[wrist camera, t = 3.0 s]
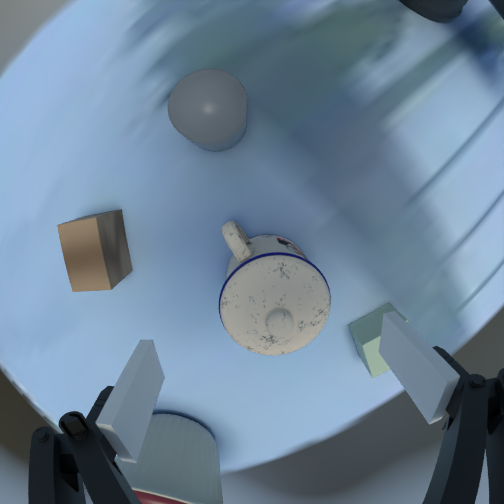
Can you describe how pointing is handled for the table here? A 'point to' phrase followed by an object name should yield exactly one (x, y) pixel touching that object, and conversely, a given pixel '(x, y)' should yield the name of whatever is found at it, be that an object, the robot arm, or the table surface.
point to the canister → (175, 464)
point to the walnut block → (95, 251)
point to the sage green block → (371, 339)
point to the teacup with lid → (271, 294)
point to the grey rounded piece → (209, 109)
